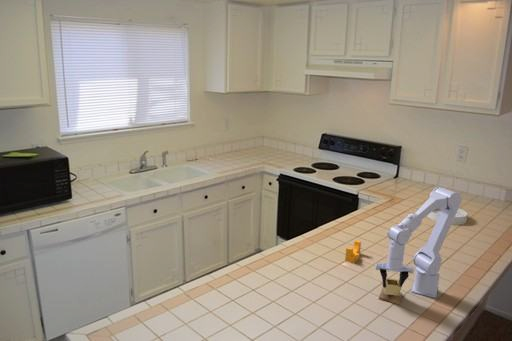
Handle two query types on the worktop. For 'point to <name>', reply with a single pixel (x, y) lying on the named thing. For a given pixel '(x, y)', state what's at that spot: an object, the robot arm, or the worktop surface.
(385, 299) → the shaft block
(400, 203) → the worktop surface
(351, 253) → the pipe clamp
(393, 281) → the collar
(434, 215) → the dish
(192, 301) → the worktop surface
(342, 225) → the worktop surface
